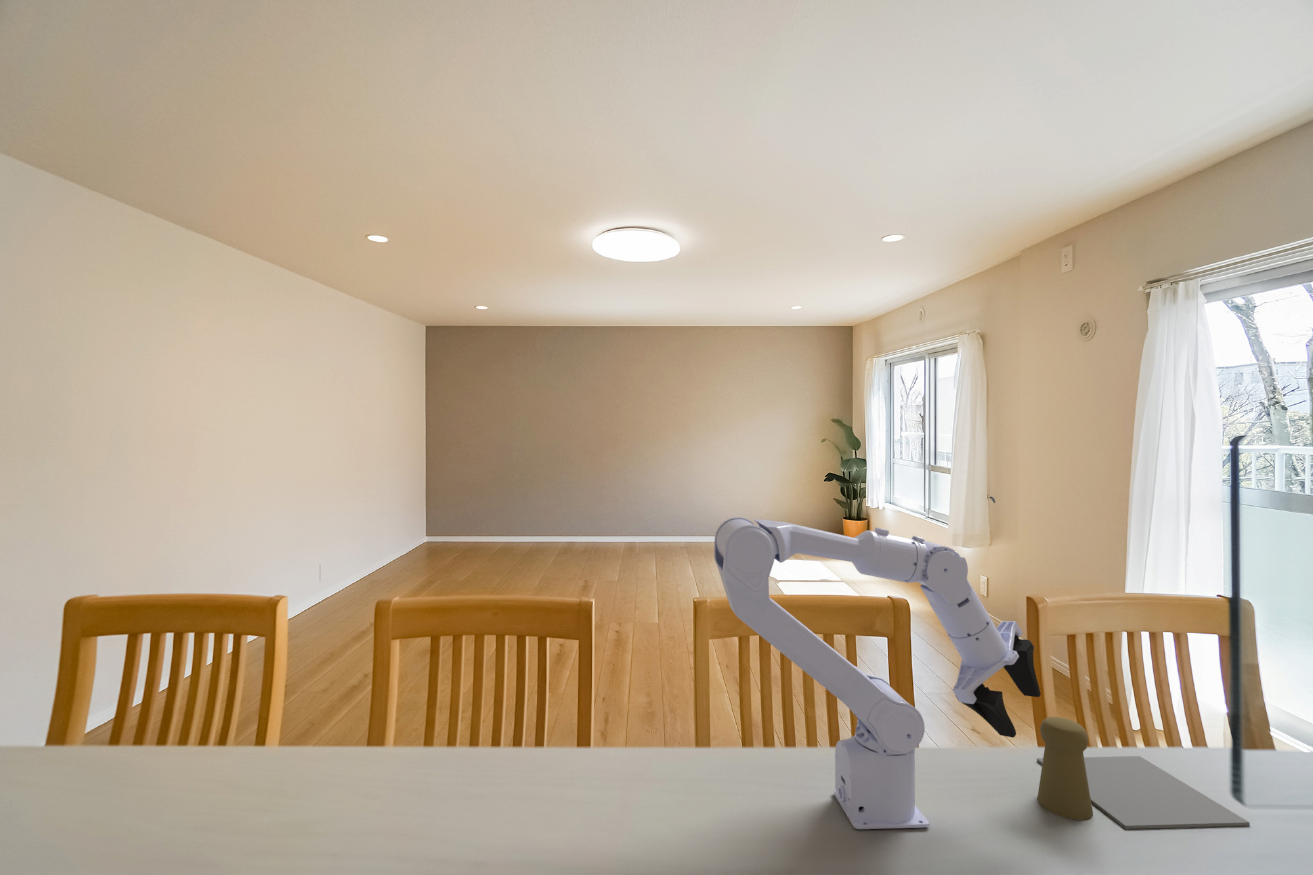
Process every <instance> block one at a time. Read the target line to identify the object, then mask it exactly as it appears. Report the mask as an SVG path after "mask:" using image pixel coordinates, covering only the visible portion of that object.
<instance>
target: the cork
mask: <svg viewBox="0 0 1313 875" xmlns="http://www.w3.org/2000/svg"><path fill="white" fill-rule="evenodd" d="M1039 729H1040V730H1039V732H1040V736H1041V739H1042V741H1044V751H1043V757H1042V758H1043V763H1042V765H1041V771H1040V778H1039V784H1038V792H1037V802H1038V803H1039V804H1040V806H1042V807H1043V809H1045V810H1047V811H1048V812H1050V813H1052V814H1054V815H1056V816H1059V817H1062V818H1064V819H1065V818H1066V819H1068V820H1069V819H1070V820H1075V821H1085V820H1090V819H1091V818H1092V817H1093V816H1094V815H1093V814H1094V812H1093V811H1094V810H1093V804H1092V803H1091V798H1090V792H1089V786H1088V779H1087V773H1086V767H1085V761H1084V757H1085V756H1084V752H1085V750H1087V748H1088V744H1089V736H1088V733H1087V730H1086V729H1085V728H1084V726H1082V725H1081V724H1080V723H1078V722H1077V721H1074V720H1072V719H1069V718H1066V717H1060V716H1049V717H1046V718H1044V719H1043V720H1042V721H1041V724H1040V726H1039Z"/></svg>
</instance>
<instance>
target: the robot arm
mask: <svg viewBox="0 0 1313 875" xmlns="http://www.w3.org/2000/svg"><path fill="white" fill-rule="evenodd" d="M753 521H754V522H756V523H757V525H756V524H754V523H753V522H752V521H751V520H749V519H747V518H745V517H741V516H740V517H739V516H737V517H731V518H728V519H726V520H725V521H723V522H722V523H721V524H720V525H719V526H718V527H717V529H716V532H715V534H714V541H713V542H714V543H713V544H714V546H713V547H714V548H713V549H714V551H713V558H714V561H715V564H716V567H717V569H718V573H719V577H720V580H721V582H722V585H723V590H724V591H725V596H726V599H727V601H728V604H729V607H730V609H731V611H732V613H734V615H735V616H736V617H737V618H738V619H739V620H741V622H743V623H744V624H745V625H746V626H748V627H749V628H750V629H752V630H753V631H754V632H755V633H757V635H759V636H760V637H761V638H762V639H764V640H765V641H766V642H767V643H769V644H770V645H771V646H772V647H774V648H775V649H776V650H777V651H779V652H780V653H781V654H782V655H784V657H786V658H787V659H789V660H790V661H791V662H792V663H793V664H795V665H796V666H797V667H798V668H800V669H801V670H802V671H803V672H805V673H806V674H807V675H808V676H810V677H811V678H812V679H814V681H816V682H817V683H818V684H820V685H821V686H822V687H823V688H824V689H826V690H828V692H829V693H830V694H832V695H833V696H834V697H836V698H837V699H838V700H839V701H841V702H842V703H843V704H844V705H845V706H846V707H847V708H848V709H849V710H850V711H851V712H852V713H853V715H854V716H855V717H856V719H857V720H856V726H855V733H854V735H852V736H851V737H848V738H844V739H841V740H838V741H837V742H836V745H835V750H834V760H835V762H834V764H835V766H834V768H835V769H834V770H835V771H834V772H835V774H834V775H835V780H834V781H835V783H834V785H835V786H834V787H835V789H834V790H833V795H834V796H835V797H836V800H837V801H838V803H839V806H840V807H841V808H842V811H843V812H844V813H845V815H846V817H847V819H848V820H849V822H850V823H851V825H852V827H853V828H854V829H856V830H869V829H870V830H872V829H873V830H875V829H876V830H877V829H880V830H881V829H884V830H885V829H910V828H911V829H913V828H914V829H916V828H917V829H919V828H929V827H930V822H929V821H928V819H927V818H926V817H925V816H924V814H923V813H922V812H921V810H920V809H919V808H918V806H917V805H916V749H917V748H918V746H919V745H920V744H921V742H922V741H923V738H924V735H925V721H924V719H923V716H922V714H921V712H920V711H919V710H918V709H917V708H916V707H915V706H914V705H912V704H910V702H908V701H906V700H905V699H904V698H903V697H902V695H900V694H899V693H898V692H896V690H894V688H893V687H891V686H890V683H888V682H887V681H886V680H885V679H884V678H882V677H879V676H876V675H871V674H868V673H866V672H864V671H863V670H861V669H860V667H857V666H855V665H854V664H853V663H851V662H850V661H849V660H848V659H846V658H845V657H844V656H843V655H842V654H841V653H840V652H838V651H837V650H835V649H834V648H833V647H832V646H830V645H829V644H828V643H826V642H825V641H824V640H823V639H822V638H820V637H819V636H818V635H817V634H816V633H814V632H813V631H812V630H811V629H809V628H808V627H807V626H806V625H805V624H803V623H802V622H801V621H800V620H798V619H797V618H796V617H795V616H794V615H792V614H791V613H790V612H788V611H787V610H786V609H785V608H784V607H782V605H780V604H779V603H777V602H776V601H775V600H774V599H772V598H771V597H770V586H769V584H770V582H769V581H770V580H769V579H770V576H771V572H772V569H773V565H774V562H775V560H776V561H777V562H779V563H781V564H782V563H784V562H786V561H787V560H788V559H790V558H791V557H794V556H795V555H796V554H801V555H805V556H806V555H807V556H813V557H819V558H826V559H830V560H838V561H845V562H849V563H850V562H851V563H852V564H853V566H854V568H855V569H856V571H857V572H858V573H859V574H861V575H864V576H870V577H875V578H879V579H887V580H891V581H895V582H900V583H906V584H910V583H919V584H921V585H920V589H921V590H922V592H923V594H924V595H925V597H926V599H927V600H928V603H929V605H930V607H931V609H932V611H933V612H934V614H935V615H936V618H938V620H939V622H940V624H941V626H942V628H943V629H944V631H945V633H946V634H947V637H948V638H949V639H950V641H951V643H952V644H953V646H954V647H955V649H956V651H957V653H958V655H959V656H960V658H961V661H960V666H959V670H958V674H957V678H956V682H955V685H954V686H953V687H952V692H953V693H954V696H955V697H956V699H957V701H958V702H959V703H961V704H962V705H965V706H966V707H968V708H969V709H971V710H972V711H974V712H975V713H976V714H978V715H979V716H980V717H981V718H983V720H985V722H986V723H988V724H989V725H990V726H991V727H992V728H993V729H994V731H995V732H997V733H998V735H999V736H1002V737H1007V738H1008V737H1009V738H1015V737H1016V735H1017V732H1016V727H1015V726H1014V724H1013V722H1012V719H1011V718H1010V716H1009V715H1008V712H1007V710H1006V706H1005V703H1004V699H1003V698H1004V697H1003V691H1001V690H994V689H993V690H991V689H990V688H989V686H985V684H984V682H986V681H987V680H989V679H990V678H991V677H992V676H993V675H995V674H997V673H998V671H1000V670H1001V669H1004V670H1005V672H1006V673H1007V674H1008V675H1009V677H1010V678H1011V680H1012V681H1013V683H1014V685H1015V686H1016V687H1017V689H1018V690H1019V692H1020V693H1021V694H1022V695H1023V696H1025V697H1033V698H1039V697H1040V696H1041V689H1040V686H1039V682H1038V679H1037V674H1036V670H1035V665H1034V664H1035V663H1034V652H1035V651H1034V650H1035V649H1034V648H1035V646H1034V644H1033V643H1032V641H1031V640H1030V639H1026V638H1025V639H1022V638H1021V636H1023V631H1022V629H1021V628H1020V626H1019V625H1018V623H1017V621H1016V620H1015V621H1014V620H1011V621H1010V620H1002V621H1001V623H999V624H998V625H997V626H996V625H995V622H994V621H993V619H992V618H991V616H990V615H989V612H987V609H986V608H985V606H984V604H983V603H982V601H981V599H980V597H979V596H978V594H977V592H976V591H975V588H973V586H972V585H971V583H970V581H969V579H968V574H969V566H968V562H967V559H966V558H965V557H962V556H961V555H960V554H959V553H958V552H956V550H954V549H953V548H950V547H948V546H946V545H942V544H939V543H936V542H931V541H929V540H925V539H924V537H921V536H918V535H917V536H916V535H913V536H912V538H909V537H904V536H903V537H902V536H899V535H893V534H889V533H890V531H889V530H888V529H886V528H881V527H877V526H876V527H875V528H874V531H873V530H869V529H868V530H865V531H862V532H861V533H860V534H857V535H856V536H854V537H851V536H848V535H843V534H839V533H835V532H830V531H826V530H821V529H817V528H812V527H809V526H803V525H800V524H795V523H790V522H786V521H781V520H780V521H779V520H777V521H776V520H771V519H770V520H769V519H761V518H759V519H758V518H757V519H756V518H754V519H753ZM1020 638H1021V639H1020Z"/></svg>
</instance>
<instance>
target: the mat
mask: <svg viewBox="0 0 1313 875" xmlns="http://www.w3.org/2000/svg"><path fill="white" fill-rule="evenodd" d="M1084 761H1085V767H1086V773H1087V779H1088V786H1089V792H1090V798H1091V804H1092V805H1094V806H1095V807H1097V808H1098V809H1099V811H1101V812H1103V813H1104V814H1106V816H1108V817H1109V818H1110V819H1112V820H1113V821H1115V822H1116V823H1117V824H1118V825H1120V826H1121V827H1122V828H1124V829H1125V830H1139V829H1140V830H1141V829H1175V828H1179V829H1180V828H1208V827H1209V828H1212V827H1243V826H1244V827H1246V826H1248V827H1249V826H1250V825H1251V823H1250V821H1248V820H1246V819H1245V818H1243V817H1241V816H1240V815H1238V814H1237V813H1236V812H1233V811H1232V810H1230V809H1228V808H1226V807H1225V806H1223V805H1222V804H1220V803H1219V802H1216V801H1215V800H1214V799H1212V798H1210V797H1208V796H1207V795H1205V794H1204V793H1202V792H1200V791H1198V790H1197V789H1195V788H1194V787H1192V786H1190V785H1188V784H1187V783H1185V782H1184V781H1181V780H1180V779H1179V778H1177V777H1175V776H1174V775H1172V774H1170V773H1169V772H1167V771H1165V770H1164V769H1163V768H1160V767H1158V766H1157V765H1155V764H1153V763H1152V762H1150V761H1148V760H1147V759H1145V758H1144V757H1142V756H1140V755H1131V756H1129V755H1128V756H1089V757H1087V756H1084ZM1036 762H1037V763H1039V764H1040V765H1041V766H1042V763H1043V757H1042V758H1041V757H1039V758H1036Z"/></svg>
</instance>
